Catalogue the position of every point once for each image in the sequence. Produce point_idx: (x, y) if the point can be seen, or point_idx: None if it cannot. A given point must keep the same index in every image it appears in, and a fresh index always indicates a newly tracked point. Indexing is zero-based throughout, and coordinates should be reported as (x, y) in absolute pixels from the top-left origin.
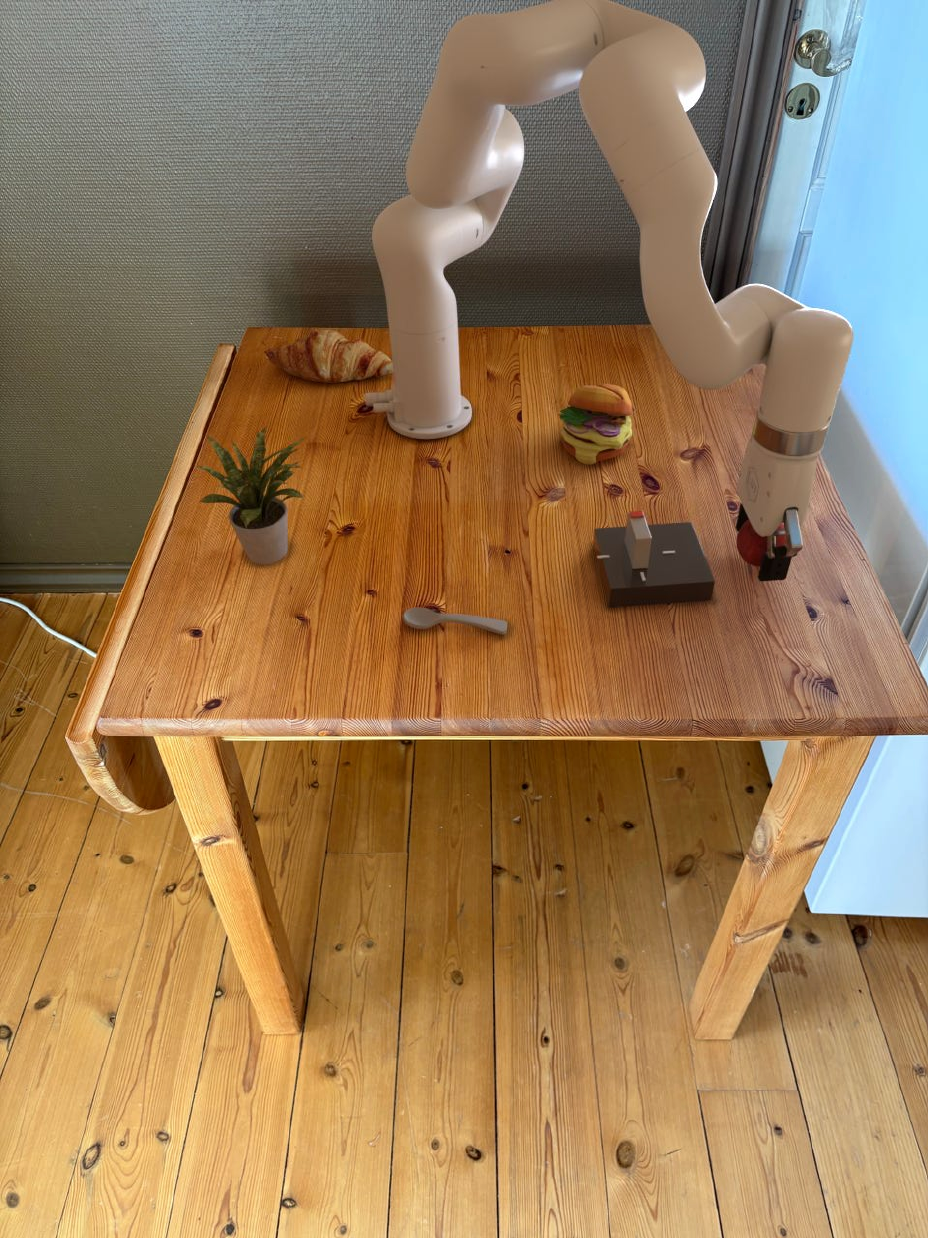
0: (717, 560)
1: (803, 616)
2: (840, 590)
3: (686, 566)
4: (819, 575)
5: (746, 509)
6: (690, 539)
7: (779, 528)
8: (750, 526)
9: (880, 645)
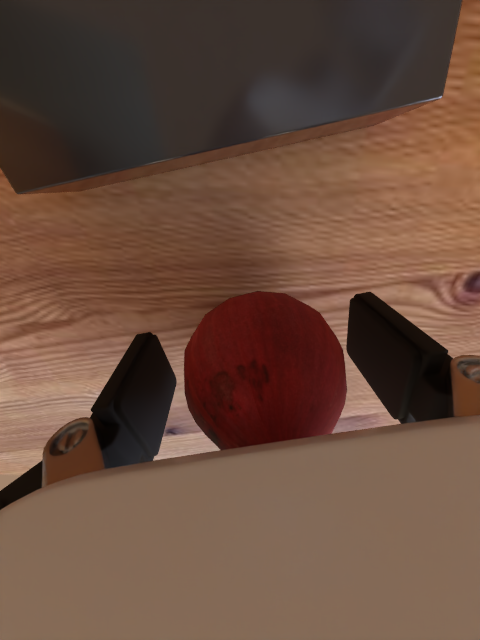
0: (268, 226)
1: None
2: (197, 428)
3: (59, 17)
4: None
5: (275, 480)
6: (302, 75)
7: None
8: (261, 383)
9: None
